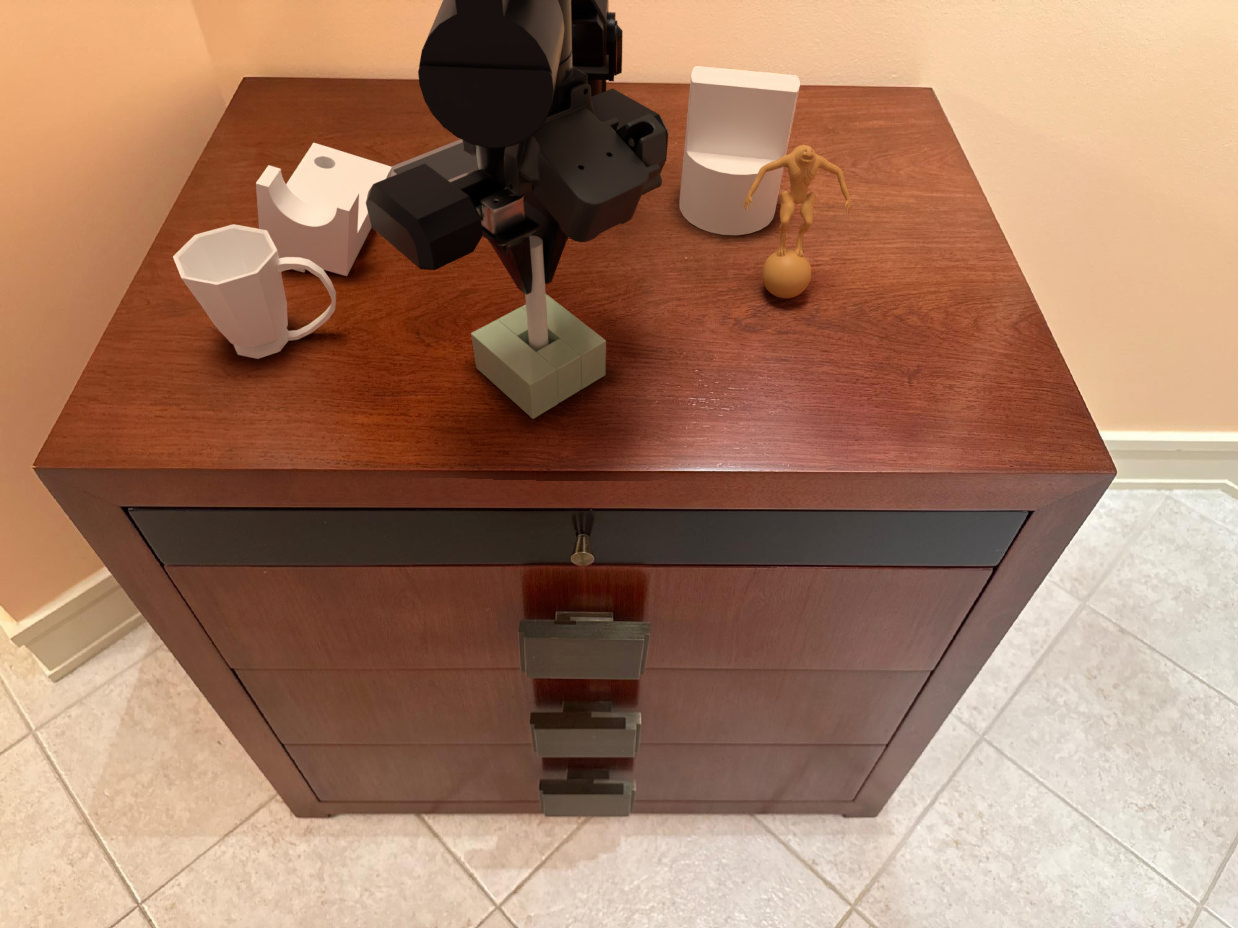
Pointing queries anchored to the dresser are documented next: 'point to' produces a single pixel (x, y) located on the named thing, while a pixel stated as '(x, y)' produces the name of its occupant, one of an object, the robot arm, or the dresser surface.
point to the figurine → (790, 267)
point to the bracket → (319, 207)
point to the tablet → (442, 161)
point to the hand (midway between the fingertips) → (534, 286)
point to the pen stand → (539, 358)
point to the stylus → (537, 298)
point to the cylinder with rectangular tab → (735, 147)
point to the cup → (245, 287)
